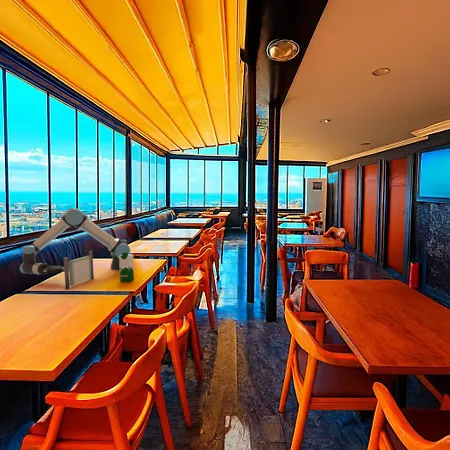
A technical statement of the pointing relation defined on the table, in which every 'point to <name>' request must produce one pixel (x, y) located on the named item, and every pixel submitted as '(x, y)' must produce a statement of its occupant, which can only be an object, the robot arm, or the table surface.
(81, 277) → the beige framed panel
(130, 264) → the milk carton
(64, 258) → the posts
